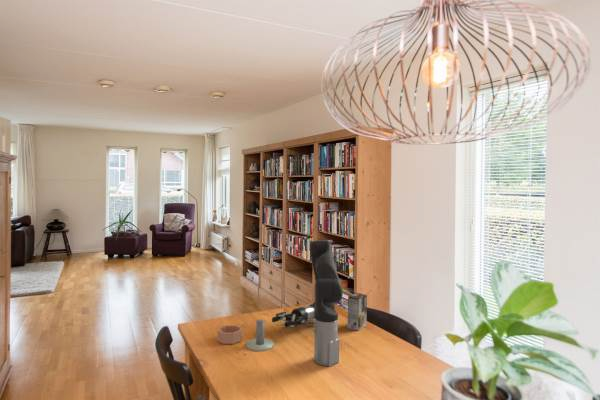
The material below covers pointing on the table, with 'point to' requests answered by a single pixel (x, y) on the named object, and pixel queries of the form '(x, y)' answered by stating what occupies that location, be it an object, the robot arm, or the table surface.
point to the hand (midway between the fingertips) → (278, 322)
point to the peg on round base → (260, 339)
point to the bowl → (229, 334)
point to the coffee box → (357, 311)
